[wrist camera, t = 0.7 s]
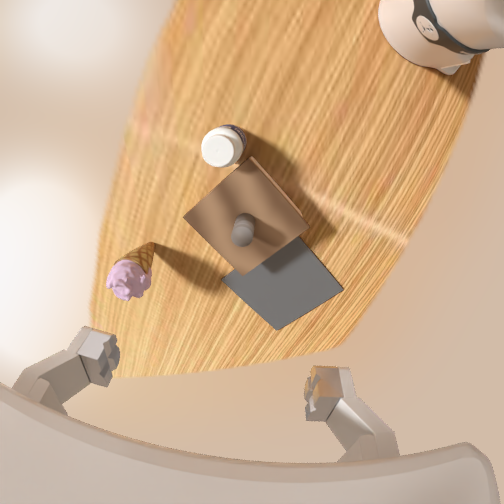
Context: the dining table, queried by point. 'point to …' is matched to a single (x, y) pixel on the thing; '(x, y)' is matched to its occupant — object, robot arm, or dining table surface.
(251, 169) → the lid
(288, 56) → the dining table surface
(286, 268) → the mat
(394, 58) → the dining table surface
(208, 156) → the pill bottle
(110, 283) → the ice cream cone
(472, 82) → the dining table surface
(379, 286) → the dining table surface
